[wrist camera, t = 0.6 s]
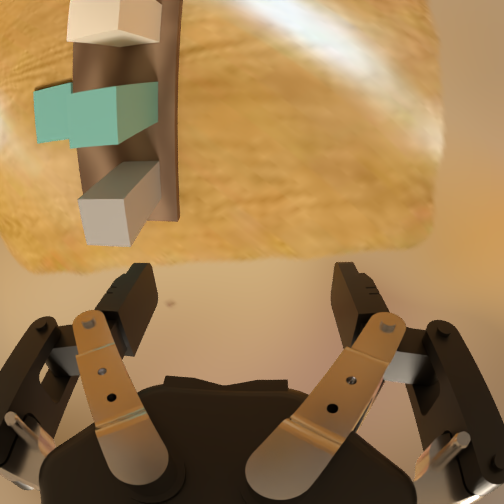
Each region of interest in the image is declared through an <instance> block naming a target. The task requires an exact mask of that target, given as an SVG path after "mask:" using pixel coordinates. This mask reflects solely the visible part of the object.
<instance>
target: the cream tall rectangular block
mask: <svg viewBox="0 0 504 504" xmlns="http://www.w3.org/2000/svg"><path fill="white" fill-rule="evenodd" d="M161 13H162V4H160V3H159V2H158V1H156V0H70V7H69V16H68V28H67V41H68V42H81V43H92V44H100V45H108V46H116V47H124V46H131V45H138V44H147V43H156V42H160V27H161Z"/></svg>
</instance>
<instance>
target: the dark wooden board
mask: <svg viewBox="0 0 504 504" xmlns="http://www.w3.org/2000/svg"><path fill="white" fill-rule="evenodd" d="M156 1H158V2H159V3H160V4H162V13H161V27H160V42H156V43H147V44H138V45H131V46H124V47H116V46H108V45H100V44H92V43H81V42H74V43H73V93H77V92H82V91H87V90H92V89H98V88H104V87H111V86H118V85H126V84H136V83H146V82H158V122H157V123H155V124H153V125H151V126H149V127H148V128H146V129H144V130H142V131H140V132H139V133H137V134H135V135H133V136H132V137H130V138H128V139H127V140H125V141H123V142H122V143H120V144H118V145H103V146H91V147H81V148H77V154H78V162H79V170H80V177H81V184H82V190H83V194H84V193H86V192H87V191H88V190H89V189H90V188H91V187H92V186H94V185H95V184H96V183H97V182H98V181H100V180H101V179H102V178H103V177H104V176H106V175H107V174H108V173H109V172H110V171H112V170H113V169H114V168H115V167H117V166H118V165H119V164H121V163H122V162H131V161H159V167H160V185H161V199H160V201H159V202H158V204H157V205H156V207H155V208H154V210H153V211H152V213H151V215H150V216H149V218H148V219H147V221H176V222H178V220H179V218H180V207H179V183H178V136H177V113H178V68H179V46H180V29H181V15H182V3H183V0H156Z"/></svg>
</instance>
